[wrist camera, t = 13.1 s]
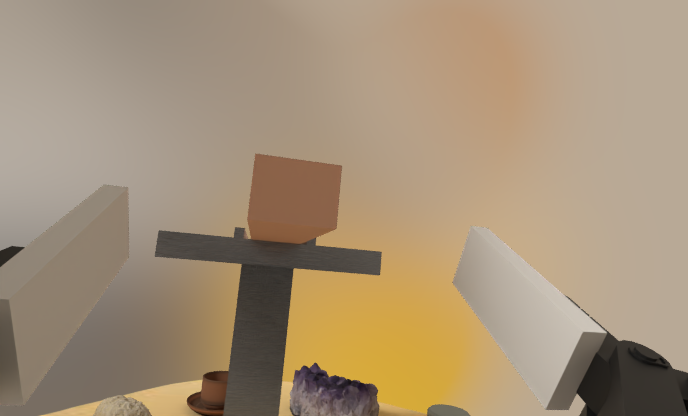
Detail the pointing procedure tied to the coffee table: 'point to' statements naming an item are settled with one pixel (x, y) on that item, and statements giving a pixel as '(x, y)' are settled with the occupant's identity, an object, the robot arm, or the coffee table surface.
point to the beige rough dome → (121, 407)
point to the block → (292, 199)
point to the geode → (331, 395)
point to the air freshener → (446, 411)
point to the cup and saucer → (210, 394)
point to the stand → (262, 304)
